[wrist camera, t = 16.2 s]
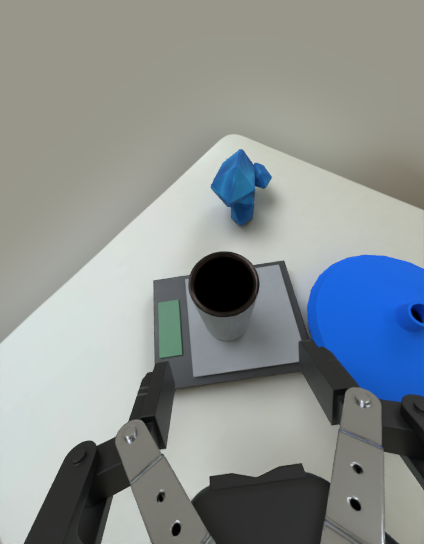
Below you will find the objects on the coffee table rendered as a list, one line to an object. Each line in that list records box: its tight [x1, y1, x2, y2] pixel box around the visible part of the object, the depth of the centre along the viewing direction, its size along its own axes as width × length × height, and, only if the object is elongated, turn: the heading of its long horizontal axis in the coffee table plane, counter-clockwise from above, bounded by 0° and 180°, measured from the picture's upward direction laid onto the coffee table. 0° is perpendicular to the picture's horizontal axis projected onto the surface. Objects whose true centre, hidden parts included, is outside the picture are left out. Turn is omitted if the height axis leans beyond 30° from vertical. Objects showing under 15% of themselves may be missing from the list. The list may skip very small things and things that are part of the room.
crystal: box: [211, 149, 272, 226], centre depth 30 cm, size 7×9×12 cm
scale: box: [153, 261, 309, 389], centre depth 25 cm, size 16×12×3 cm
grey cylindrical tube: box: [188, 252, 260, 341], centre depth 18 cm, size 4×4×10 cm
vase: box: [307, 255, 424, 402], centre depth 21 cm, size 16×16×7 cm
